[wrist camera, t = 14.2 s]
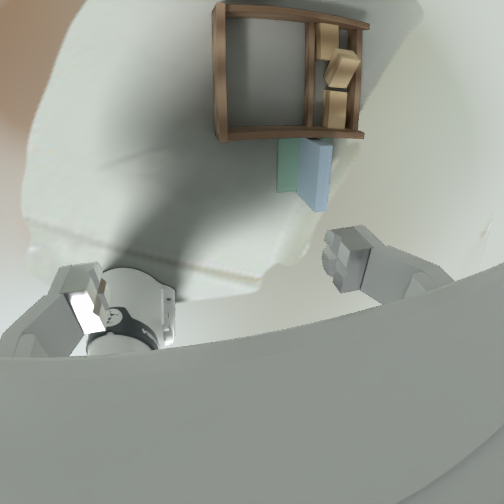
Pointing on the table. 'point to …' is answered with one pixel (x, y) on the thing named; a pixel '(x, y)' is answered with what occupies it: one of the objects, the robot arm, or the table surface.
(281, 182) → the pad
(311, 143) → the sheet
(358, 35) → the rack
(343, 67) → the offcut top
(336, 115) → the offcut
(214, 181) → the table surface
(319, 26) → the offcut
